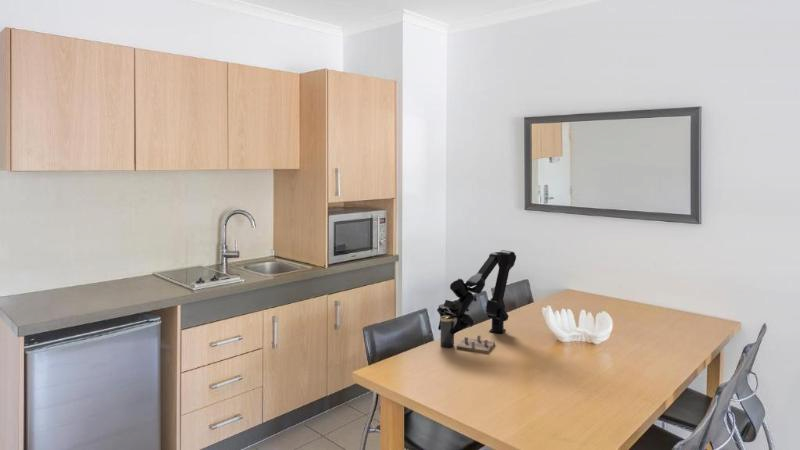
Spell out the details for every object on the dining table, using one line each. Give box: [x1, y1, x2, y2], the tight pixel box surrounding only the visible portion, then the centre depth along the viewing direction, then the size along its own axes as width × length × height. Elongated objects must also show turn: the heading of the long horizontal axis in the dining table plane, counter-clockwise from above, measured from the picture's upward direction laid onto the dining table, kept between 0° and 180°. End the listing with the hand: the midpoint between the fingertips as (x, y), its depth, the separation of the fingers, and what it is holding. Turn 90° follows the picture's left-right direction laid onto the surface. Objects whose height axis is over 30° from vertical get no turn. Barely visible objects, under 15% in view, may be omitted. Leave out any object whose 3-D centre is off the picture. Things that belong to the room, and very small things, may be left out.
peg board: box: [456, 334, 496, 354], centre depth 241 cm, size 12×14×4 cm
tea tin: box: [440, 315, 455, 349], centre depth 242 cm, size 6×6×13 cm
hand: (445, 331), depth 241 cm, fingers open, 8 cm apart
